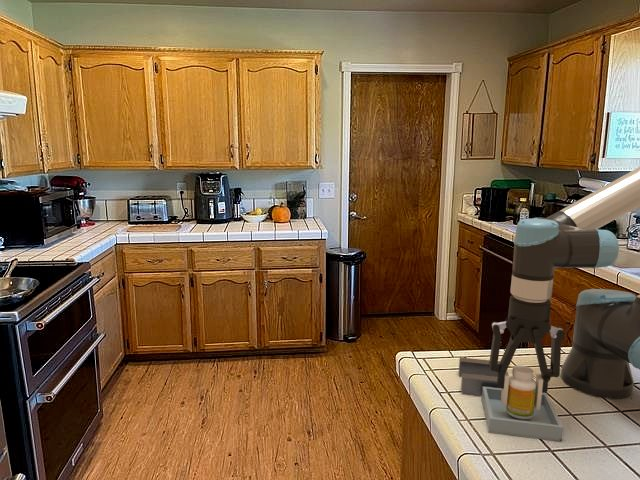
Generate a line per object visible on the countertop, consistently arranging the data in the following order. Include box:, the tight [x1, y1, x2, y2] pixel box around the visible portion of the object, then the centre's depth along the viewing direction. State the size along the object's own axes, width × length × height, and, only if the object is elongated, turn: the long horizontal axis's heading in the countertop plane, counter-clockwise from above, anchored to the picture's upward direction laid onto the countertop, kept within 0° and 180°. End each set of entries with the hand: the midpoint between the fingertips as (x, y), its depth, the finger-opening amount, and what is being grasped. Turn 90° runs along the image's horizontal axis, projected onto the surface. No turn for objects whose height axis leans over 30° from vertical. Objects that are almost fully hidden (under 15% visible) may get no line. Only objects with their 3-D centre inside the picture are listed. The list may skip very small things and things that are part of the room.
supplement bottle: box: [506, 365, 536, 419], centre depth 99 cm, size 5×5×10 cm
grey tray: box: [481, 387, 564, 443], centre depth 100 cm, size 13×13×3 cm
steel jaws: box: [458, 356, 501, 397], centre depth 114 cm, size 10×11×4 cm
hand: (520, 403), depth 100 cm, fingers open, 6 cm apart
